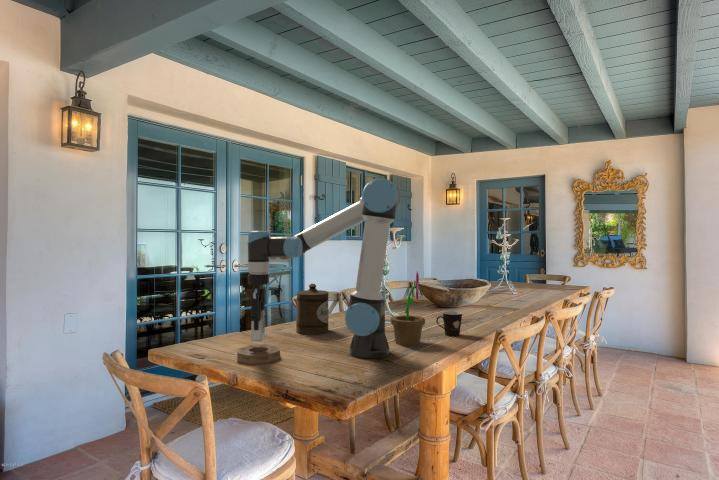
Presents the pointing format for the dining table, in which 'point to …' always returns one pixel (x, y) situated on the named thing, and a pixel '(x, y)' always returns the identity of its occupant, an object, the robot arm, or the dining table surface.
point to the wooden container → (312, 311)
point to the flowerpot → (408, 323)
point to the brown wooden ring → (258, 354)
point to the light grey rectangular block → (262, 319)
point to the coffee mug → (451, 323)
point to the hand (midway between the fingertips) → (258, 337)
